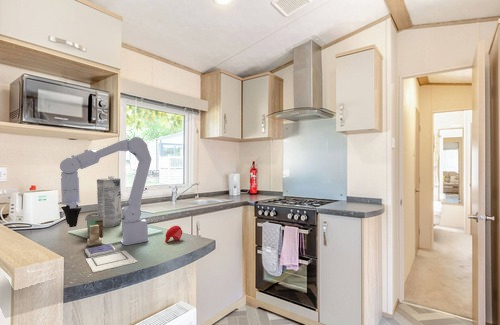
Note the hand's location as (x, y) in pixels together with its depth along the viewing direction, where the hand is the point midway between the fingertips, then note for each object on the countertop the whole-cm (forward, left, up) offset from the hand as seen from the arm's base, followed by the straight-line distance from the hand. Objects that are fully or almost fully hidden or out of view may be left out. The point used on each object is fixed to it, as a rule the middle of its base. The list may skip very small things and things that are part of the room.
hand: (71, 225), depth 105 cm
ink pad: (-8, +9, -10) cm, 16 cm away
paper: (-9, +22, -10) cm, 26 cm away
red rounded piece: (-35, +13, -10) cm, 39 cm away
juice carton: (-21, -41, -10) cm, 47 cm away
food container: (-10, -21, -10) cm, 25 cm away
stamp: (-8, -4, -10) cm, 14 cm away
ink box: (-26, -22, -10) cm, 36 cm away
